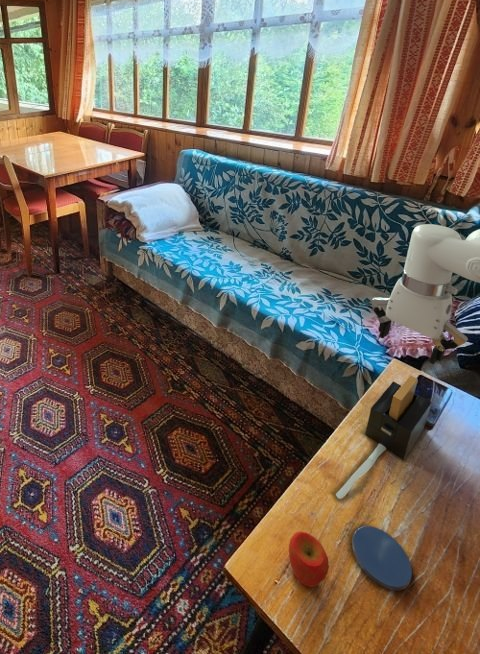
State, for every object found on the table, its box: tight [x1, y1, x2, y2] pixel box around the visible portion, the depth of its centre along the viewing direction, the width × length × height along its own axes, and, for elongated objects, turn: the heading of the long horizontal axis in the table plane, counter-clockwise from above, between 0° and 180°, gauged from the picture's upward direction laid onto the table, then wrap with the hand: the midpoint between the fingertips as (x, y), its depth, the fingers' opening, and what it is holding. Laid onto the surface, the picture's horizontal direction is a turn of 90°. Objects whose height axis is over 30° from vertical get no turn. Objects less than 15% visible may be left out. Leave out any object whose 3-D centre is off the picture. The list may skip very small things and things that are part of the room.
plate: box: [351, 525, 413, 592], centre depth 68 cm, size 9×9×1 cm
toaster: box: [364, 381, 432, 461], centre depth 88 cm, size 13×8×9 cm, turn 125°
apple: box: [288, 530, 330, 588], centre depth 66 cm, size 6×6×8 cm
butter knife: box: [335, 443, 387, 500], centre depth 84 cm, size 1×27×3 cm
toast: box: [389, 374, 419, 422], centre depth 87 cm, size 10×2×10 cm, turn 125°
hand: (407, 347), depth 82 cm, fingers open, 9 cm apart
